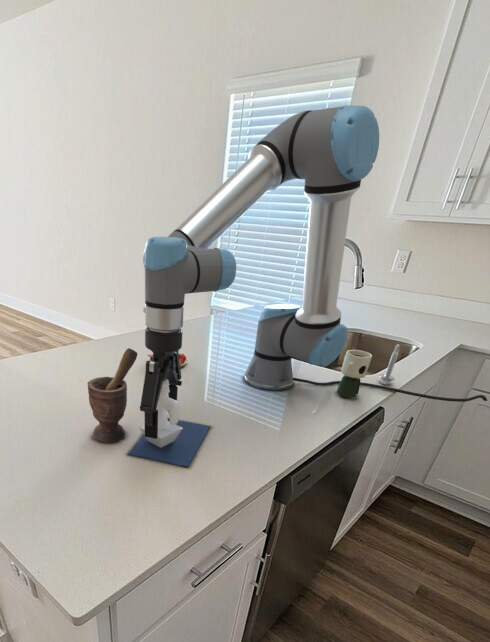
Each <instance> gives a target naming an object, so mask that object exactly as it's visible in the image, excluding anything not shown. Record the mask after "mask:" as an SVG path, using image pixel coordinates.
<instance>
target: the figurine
mask: <svg viewBox="0 0 490 642" xmlns="http://www.w3.org/2000/svg"><path fill="white" fill-rule="evenodd" d="M169 392H170V390H169V381H168V380H167V379H166V380H165V381H163V383H162V388H161V392H160V396H159V400H158V404H157V408H156V410H158V437H157V439H154V438H149V437H146V439H147V441H149V442H151V443H152V444H154V445H156V446H158V447H160V448H162V447H164V446H166V445H168V444H170V443H172V442H174V440H175V439H176V438H177V436H178V435H179V433H180V432H181V430H182V429H183V428H182V427H180V426H178V425H176V424H177V423H178V421H179V419H180V403H179V402H178V400H177V401H176V400H174V399H171V398H169V396H168V395H169V394H168V393H169ZM168 411H169V412H168ZM168 414H169V419H170V421H167V418H168ZM138 428H139V430H140V431H141V433H142V435H144V436H145V424H143V425H140V426H139V427H138Z"/></svg>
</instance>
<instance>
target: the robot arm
mask: <svg viewBox="0 0 490 642" xmlns="http://www.w3.org/2000/svg"><path fill="white" fill-rule="evenodd" d="M379 149H380V127H379V123H378V119H377V117H375V113H374V112H373V110H372V109H371V108H370V107H368V106H366V105H351V104H345V105H342V106H335V107H329V108H321V109H313V110H310V109H309V110H303V111H300V112H298V113H296V114H293V115H292V116H289V117H288V118H287V119H285V120H283V121H282V122H280V124H278V125H277V126H275V127H274V128H273V129H272V130H271V131H269V132H268V133H267V134H266V135H265V136H264V137H263V138H262V139H260V140H259V141H258V142H257V143H256V144H255V145H254V146H253V147H252V148H251V149H250V151H249V153H248V156H247V159H246V161H245V162H244V163H243V164H241V166H240V167H239V168H238V169H237V170H235V171H234V172H233V174H232V175H230V176H229V177H228V178H227V179H226V180H225V181H224V182H223V183H222V184H221V185H220V186H219V187H218V188H217V189H216V190H215V191H214V192H213V193H211V194H210V195H209V196H208V198H206V199H205V200H204V201H203V202H202V203H201V204H200V205H199V206H198V207H197V208H196V209H195V210H194V211H192V212H191V214H190V215H188V216H187V218H186V219H185V220H183V221H182V222H181V223H180V224H179V225H178V226H177V227H176V228H175V229H174V230H173V231H171V233H170V234H169V235H168V236H152V237H149V238H148V239H147V241H146V243H145V248H144V250H143V254H142V264H143V269H144V307H143V309H142V312H143V313H145V314H144V322H145V323H144V324H145V327H146V328H145V329H144V346H145V348H146V349H147V350H149V351H150V352H152V355H153V357H152V359H151V361H150V360H146V361H145V373H144V379H143V387H142V393H141V398H140V399H141V400H140V405H139V411H140V412H144V425H145V437H149V438H154V439H157V437H158V410H156V408H157V404H158V400H159V396H160V392H161V388H162V383H163V381H165V380H166V379H167V380H168V381H169V390H170V392H169V393H168V394H169V395H168V396H169V398H171V399H174V400H176V401H177V402H178V392H179V391H178V389H179V387H181V386H182V384H183V381H182V380H181V379H182V371H181V367H180V362H179V354H178V353H180V352H179V351H180V350H181V348H182V346H183V330H182V328H183V327H184V315H185V314H184V313H185V297H186V295H187V294H197V293H207V292H208V293H210V292H213V293H216V292H218V291H223V290H227V289H229V287H231V285H232V284H233V283H234V281H235V279H236V276H237V275H236V274H237V262H236V258H235V256H234V253H232V252H231V250H229V249H227V248H219V247H213V248H211V246H213V245H214V243H216V242H217V241H218V240H219V239H220V238H221V237H222V236H223V235H224V234H225V233H226V232H227V231H228V230H229V229H230V228H231V227H232V226H233V225H234V224H235V223H236V222H237V221H238V220H240V218H241V217H242V216H244V215H245V213H247V212H248V211H249V210H250V209H251V208H252V207H253V206H254V205H255V204H256V203H257V202H258V201H259V200H260V199H261V198H262V197H263V196H265V194H267V193H271V192H274V191H276V190H277V189H278V188H279V187H280V186H281V185H282V184H284V183H286V182H289V181H293V180H303V181H304V186H303V187H304V188H303V194H304V195H305V196H306V198H307V199H308V200H309V202H310V203H309V214H308V225H307V227H308V228H307V240H306V252H305V265H304V277H303V287H302V288H303V289H302V290H303V291H302V301H301V305H298V304H270V305H266V306H264V307H262V309H261V311H260V314H259V319H258V320H257V321H258V324H257V329H256V330H257V331H256V336H255V344H254V351H253V355H252V358H251V360H250V361H249V364H248V366H247V368H246V370H245V373H244V378H243V379H244V382H245V383H246V384H248V385H249V386H251V387H254V388H256V389H261V390H266V391H283V390H287V389H289V388H291V387H292V386H293V381H295V382H298V383H306V384H308V385H309V384H310V385H313V386H322V387H323V386H324V387H325V386H330V385H331V386H332V385H339V384H340V382H341V380H333V381H327V382H326V381H325V382H318V381H312V380H308V379H303V378H298V377H294V373H293V365H292V358H294V359H297V360H300V361H302V362H304V363H307V364H309V365H311V366H312V365H314V366H316V367H326V366H329V365H330V364H332V363H333V362H334V361H336V359H337V358H339V355H340V354H341V353H342V351H343V350H344V348H345V346H346V344H347V341H348V337H349V330H348V328H347V326H345V325H344V324H343V323H341V321H342V311H341V310H340V309H339V308H338V307H337V305H338V304H337V303H338V296H339V289H340V282H341V276H342V275H341V274H342V268H343V262H344V261H343V260H344V252H345V245H346V240H347V239H346V237H347V231H348V223H349V216H350V210H351V209H350V208H351V202H352V200H351V199H352V197H353V195H355V194H356V192H357V191H359V189H360V188H361V183H362V180H363V179H365V178H367V176H368V175H369V174H370V172H371V171H372V170H373V167H374V165H373V164H374V163H375V162H376V160H377V157H378V152H379ZM360 386H364V387H371V388H375V389H380V390H386V391H392V392H395V393H399V394H405V395H409V396H414V397H419V398H424V399H430V400H436V401H444V402H461V403H462V402H463V403H464V402H465V403H466V402H471V401H474V400H477V399H482V400H483V401H484V402H488V398H487V397H486V396H485V395H483V394H477V395H474V396H471V397H467V398H457V397H456V398H455V397H444V396H443V397H442V396H434V395H429V394H424V393H418V392H414V391H413V392H412V391H408V390H404V389H401V388H400V389H399V388H396V387H395V388H394V387H390V386H386V385H379V384H375V383H368V382H362V381H360ZM168 413H169V411H168Z"/></svg>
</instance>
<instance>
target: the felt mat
mask: <svg viewBox="0 0 490 642" xmlns="http://www.w3.org/2000/svg"><path fill="white" fill-rule="evenodd" d="M167 421H170V417H169V418H168V417H167ZM176 425H178V426H180V427H182V428H183V429H182V430H181V432H180V433H179V435H178V436H177V438H176V439H175V440H174V442H172V443H170V444H168V445H166V446H164V447H162V448H160V447H158V446H156V445H154V444H152V443H151V442H149V441H147V439H146V437H145V436H144V434H142V436H141V437H140V438H139V439H138V441H136V443H135V444H134V446H133V447H131V449H130V451H128V453H127V456H132V457H137V458H141V459H146V460H151V461H155V462H158V463H159V462H160V463H163V464H164V463H165V464H168V465H169V464H170V465H174V466H178V467H183V468H189V466H190V465H191V463H192V461H193V458H194V457H195V455H196V453H197V451H198V449H199V448H200V447H201V444H202V443H203V440H204V439H205V437H206V435H207V434H208V432H209V430H210V427H211V426H210V425H206V424H200V423H195V422H190V421H185V420H179V421H178V423H177V424H176Z"/></svg>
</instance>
